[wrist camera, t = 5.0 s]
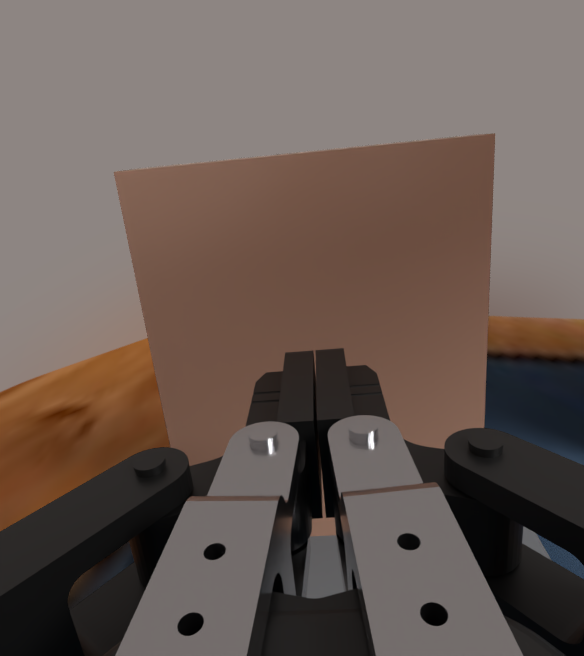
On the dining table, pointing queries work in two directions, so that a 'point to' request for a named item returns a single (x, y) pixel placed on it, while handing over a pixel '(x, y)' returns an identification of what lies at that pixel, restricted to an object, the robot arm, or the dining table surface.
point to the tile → (316, 280)
